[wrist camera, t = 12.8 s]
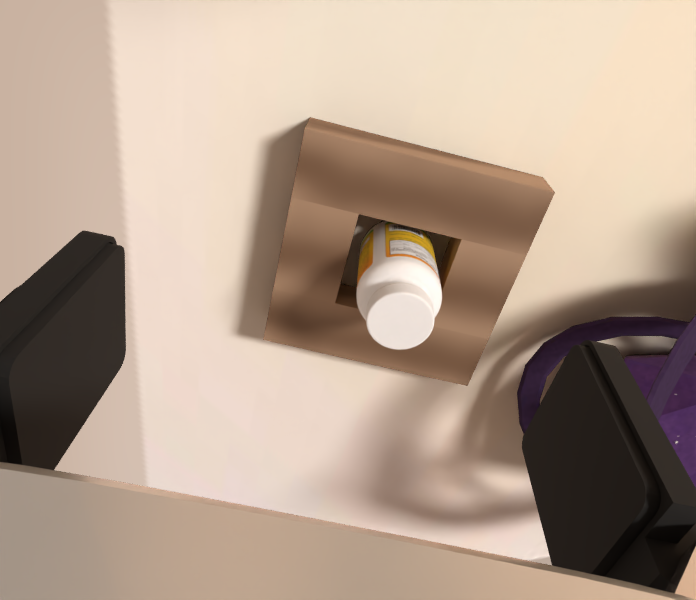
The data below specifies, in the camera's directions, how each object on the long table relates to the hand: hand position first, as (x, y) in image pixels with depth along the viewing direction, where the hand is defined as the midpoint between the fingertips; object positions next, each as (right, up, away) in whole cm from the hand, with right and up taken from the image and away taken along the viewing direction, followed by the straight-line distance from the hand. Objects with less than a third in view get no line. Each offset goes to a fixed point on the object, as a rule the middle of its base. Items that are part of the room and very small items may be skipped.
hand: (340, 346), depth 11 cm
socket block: (+4, +4, +29) cm, 30 cm away
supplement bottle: (+4, +5, +29) cm, 30 cm away
